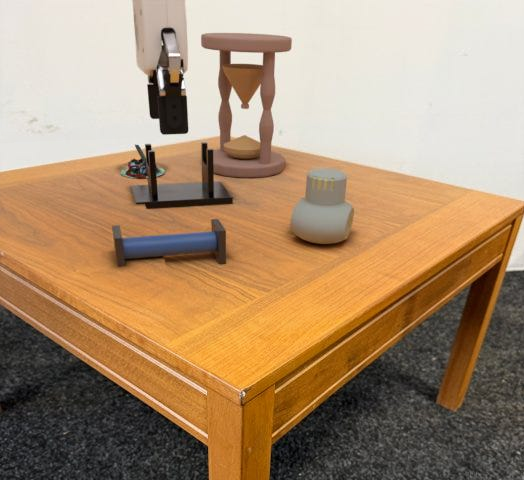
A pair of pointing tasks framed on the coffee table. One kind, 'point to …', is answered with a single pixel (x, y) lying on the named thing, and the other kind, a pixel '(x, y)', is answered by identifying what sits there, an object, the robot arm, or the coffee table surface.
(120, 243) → the handle
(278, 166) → the hourglass
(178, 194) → the holder
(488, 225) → the coffee table surface
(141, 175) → the dish
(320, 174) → the air freshener
